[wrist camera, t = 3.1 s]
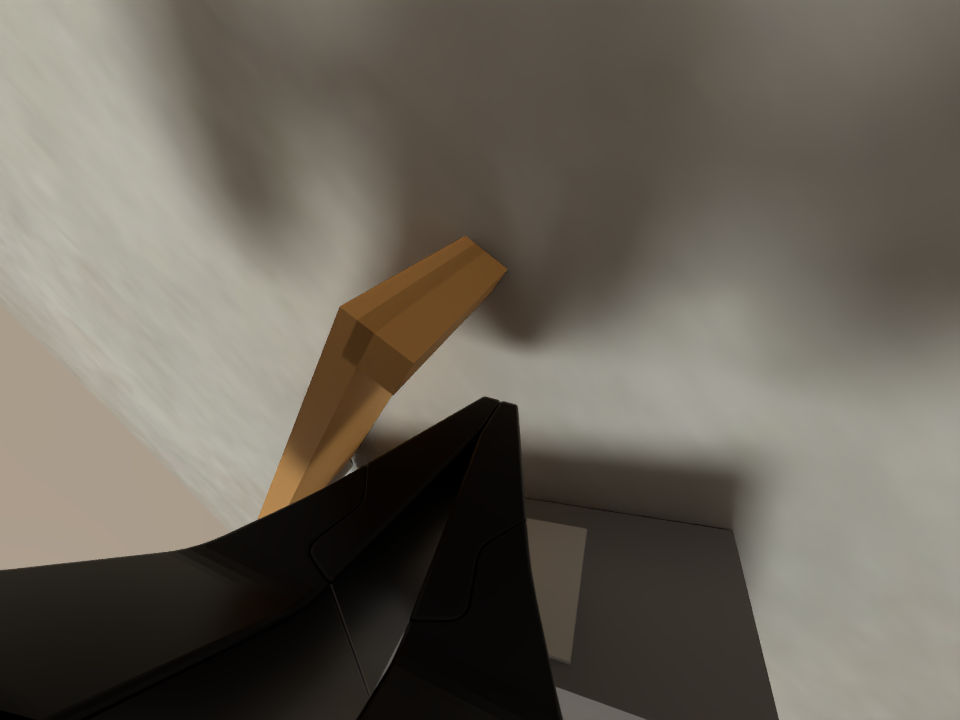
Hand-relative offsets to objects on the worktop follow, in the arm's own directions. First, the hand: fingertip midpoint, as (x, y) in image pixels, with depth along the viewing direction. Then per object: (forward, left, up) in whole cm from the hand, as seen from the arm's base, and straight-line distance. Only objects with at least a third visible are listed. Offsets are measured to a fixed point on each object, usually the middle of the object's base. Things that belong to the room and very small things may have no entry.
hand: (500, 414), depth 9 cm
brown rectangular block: (+4, 0, -2) cm, 5 cm away
